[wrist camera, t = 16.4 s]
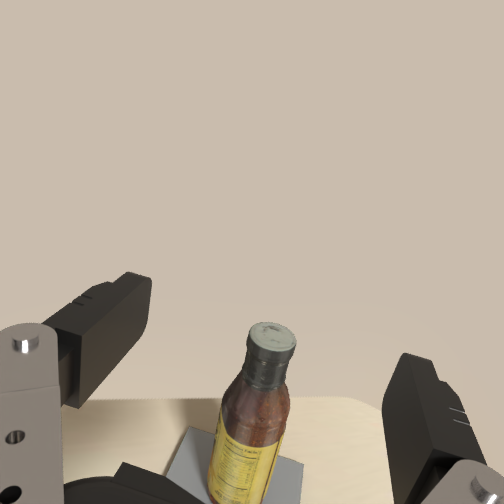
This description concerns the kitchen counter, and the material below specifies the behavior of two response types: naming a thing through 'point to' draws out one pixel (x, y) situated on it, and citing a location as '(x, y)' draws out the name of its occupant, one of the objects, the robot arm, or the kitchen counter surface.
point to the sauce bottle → (252, 419)
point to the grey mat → (197, 465)
